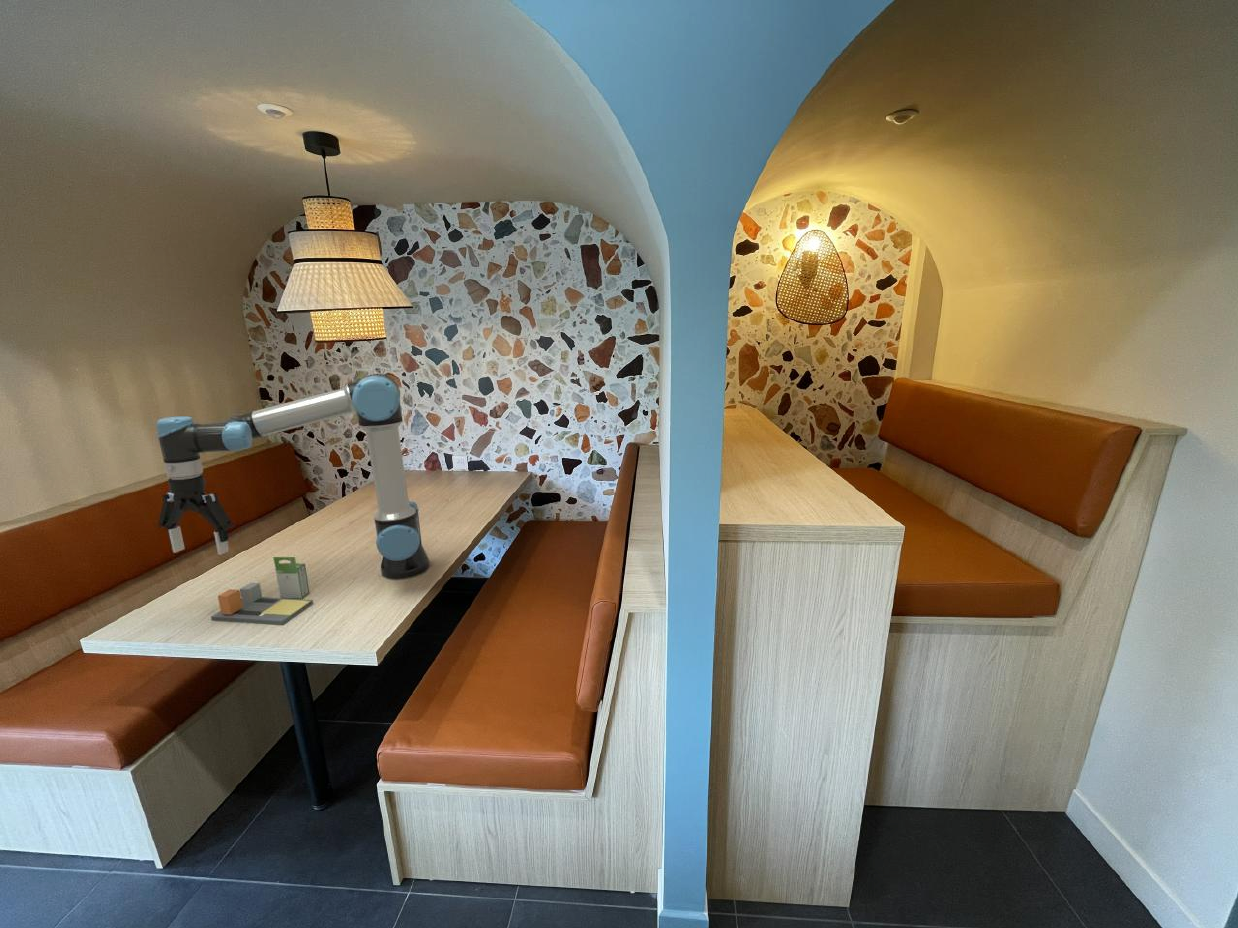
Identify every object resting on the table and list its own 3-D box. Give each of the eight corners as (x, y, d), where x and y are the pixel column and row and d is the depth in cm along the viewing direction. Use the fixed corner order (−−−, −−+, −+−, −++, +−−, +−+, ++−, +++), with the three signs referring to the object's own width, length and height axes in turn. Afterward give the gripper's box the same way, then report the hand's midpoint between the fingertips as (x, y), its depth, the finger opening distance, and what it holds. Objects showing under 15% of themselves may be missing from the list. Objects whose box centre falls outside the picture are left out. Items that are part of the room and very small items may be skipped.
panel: (246, 599, 162) (243, 582, 160) (313, 603, 159) (310, 585, 157) (211, 620, 150) (207, 601, 149) (282, 625, 147) (279, 606, 146)
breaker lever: (233, 606, 154) (229, 589, 153) (242, 607, 154) (239, 589, 153) (221, 613, 150) (217, 595, 149) (231, 614, 150) (227, 596, 149)
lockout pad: (282, 599, 159) (282, 599, 159) (310, 601, 157) (310, 600, 157) (261, 613, 151) (261, 613, 151) (290, 615, 150) (290, 614, 150)
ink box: (310, 592, 165) (303, 551, 162) (301, 599, 161) (294, 557, 158) (289, 592, 166) (281, 551, 163) (280, 598, 162) (272, 556, 159)
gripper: (129, 478, 140) (147, 555, 145) (216, 481, 137) (231, 559, 142) (157, 471, 147) (173, 544, 152) (239, 473, 144) (253, 548, 149)
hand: (201, 551), depth 147 cm, fingers open, 13 cm apart
